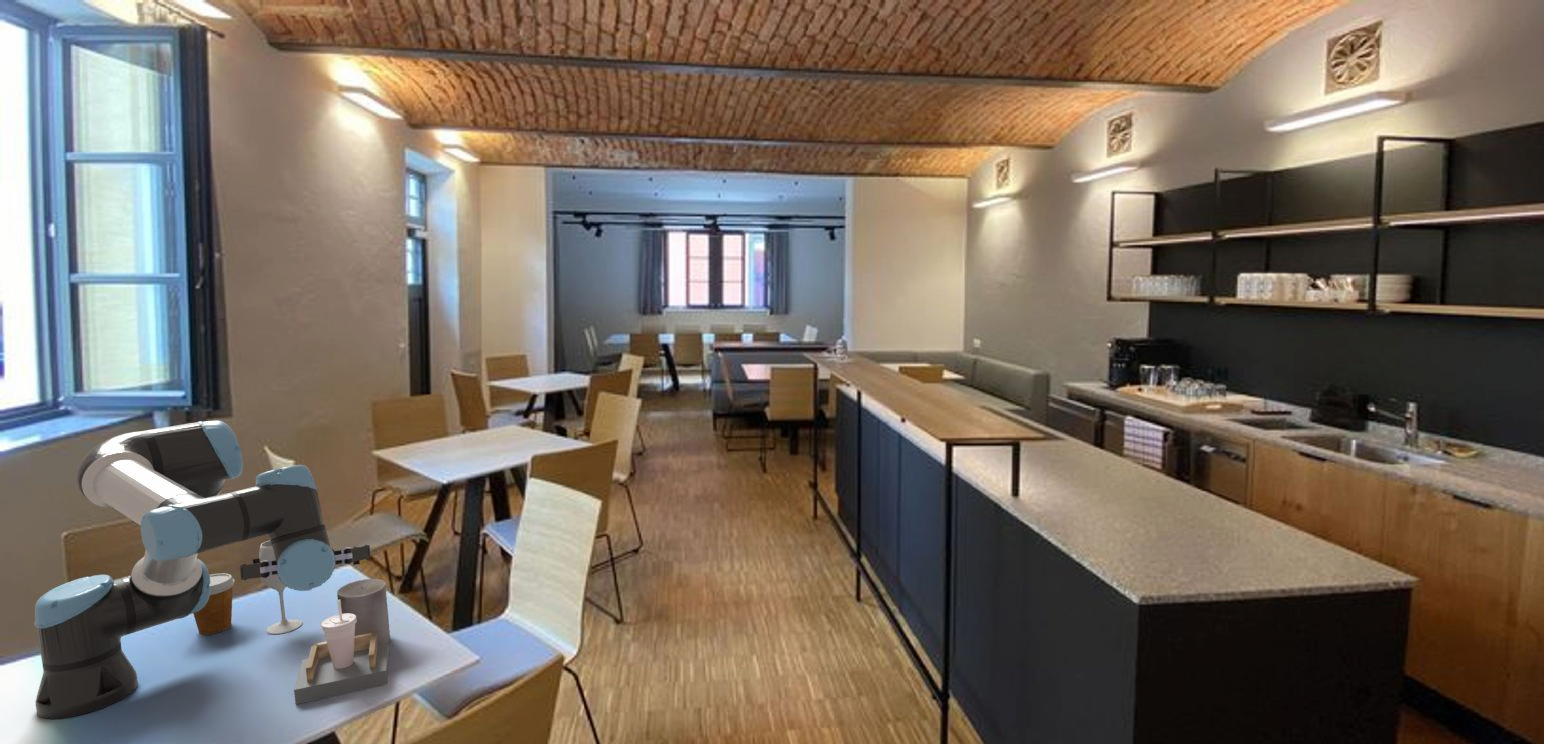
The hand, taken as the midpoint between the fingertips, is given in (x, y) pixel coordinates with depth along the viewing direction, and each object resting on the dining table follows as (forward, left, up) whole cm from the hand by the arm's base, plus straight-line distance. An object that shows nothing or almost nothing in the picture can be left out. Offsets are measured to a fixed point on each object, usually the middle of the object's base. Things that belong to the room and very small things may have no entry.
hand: (308, 560), depth 146 cm
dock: (+3, +7, -29) cm, 30 cm away
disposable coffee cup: (-27, +47, -29) cm, 61 cm away
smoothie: (+3, +7, -26) cm, 27 cm away
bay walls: (+3, +7, -26) cm, 27 cm away
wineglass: (-12, +40, -29) cm, 51 cm away
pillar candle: (+7, +21, -29) cm, 36 cm away
